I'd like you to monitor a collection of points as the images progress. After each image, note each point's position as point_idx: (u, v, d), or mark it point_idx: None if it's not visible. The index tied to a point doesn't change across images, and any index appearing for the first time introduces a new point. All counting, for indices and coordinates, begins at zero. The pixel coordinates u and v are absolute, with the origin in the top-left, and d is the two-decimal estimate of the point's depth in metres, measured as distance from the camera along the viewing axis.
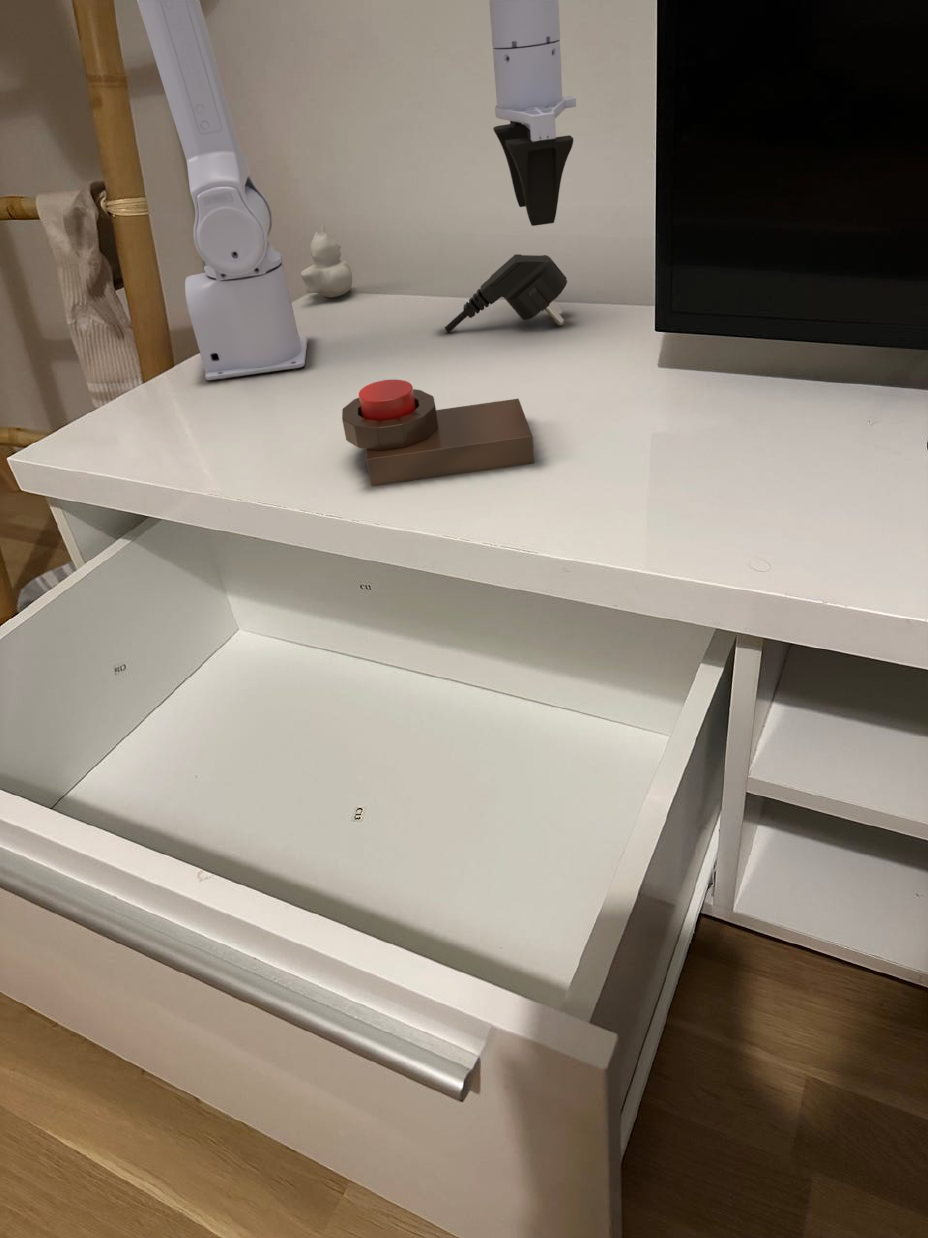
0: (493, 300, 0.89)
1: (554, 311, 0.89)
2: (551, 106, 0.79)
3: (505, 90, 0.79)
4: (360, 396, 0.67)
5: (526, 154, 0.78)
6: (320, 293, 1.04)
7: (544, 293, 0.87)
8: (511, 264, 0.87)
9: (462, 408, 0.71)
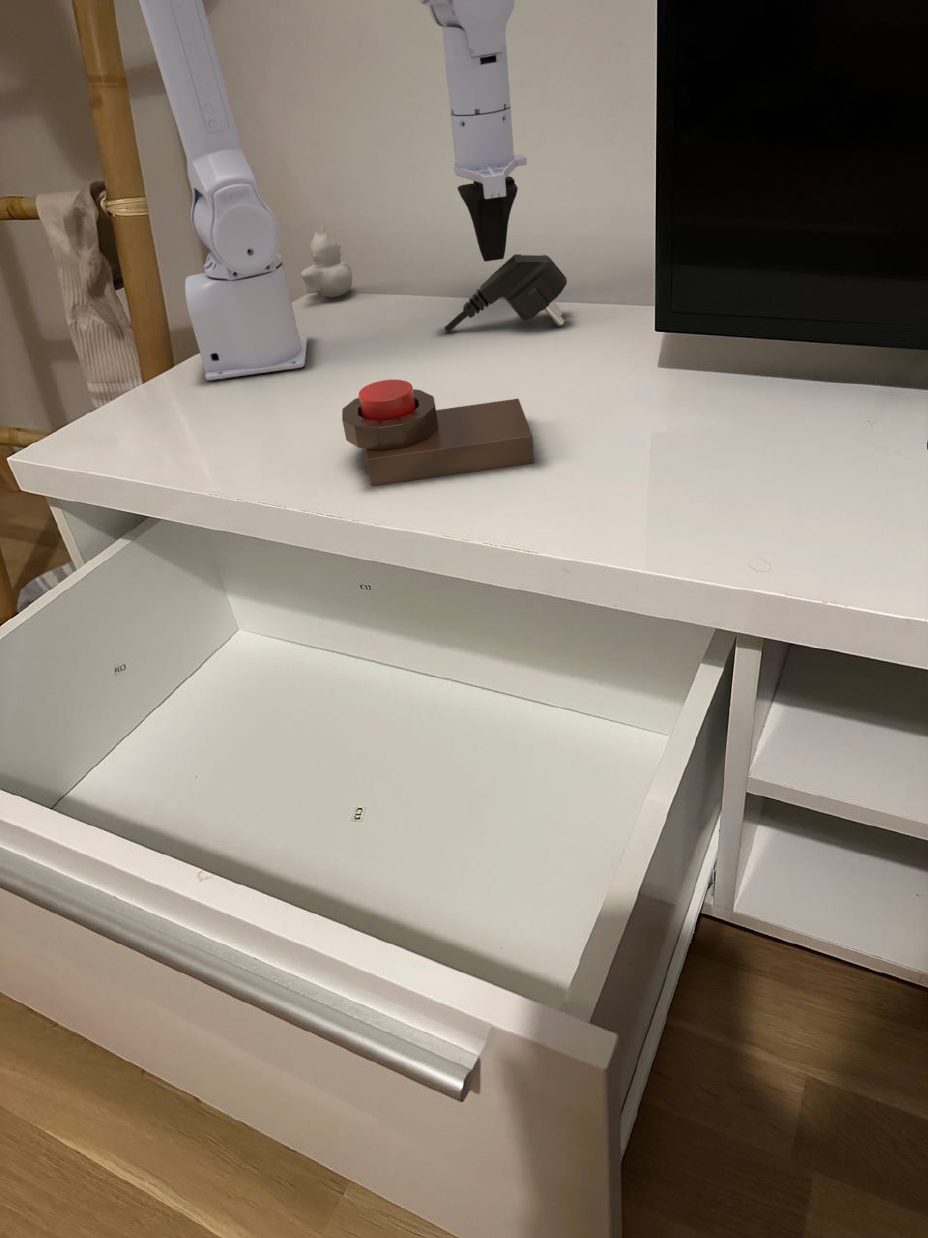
0: (493, 300, 0.89)
1: (554, 311, 0.89)
2: (503, 165, 0.88)
3: (461, 151, 0.87)
4: (360, 396, 0.67)
5: (476, 201, 0.90)
6: (320, 293, 1.04)
7: (544, 293, 0.87)
8: (511, 264, 0.87)
9: (462, 408, 0.71)
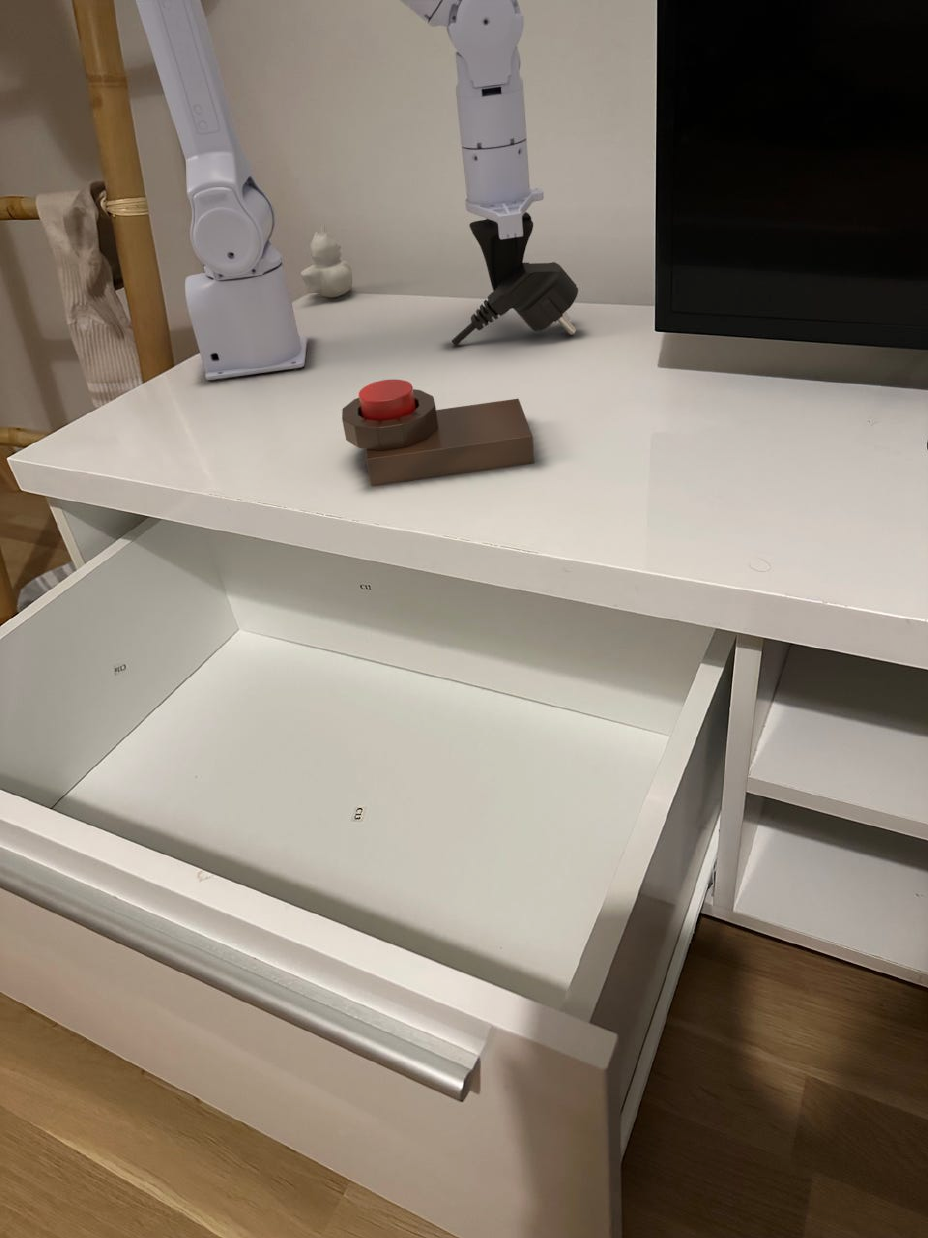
0: (503, 312, 0.86)
1: (566, 320, 0.86)
2: (519, 202, 0.81)
3: (474, 187, 0.81)
4: (360, 396, 0.67)
5: (489, 238, 0.83)
6: (320, 293, 1.04)
7: (557, 303, 0.84)
8: (521, 275, 0.84)
9: (462, 408, 0.71)
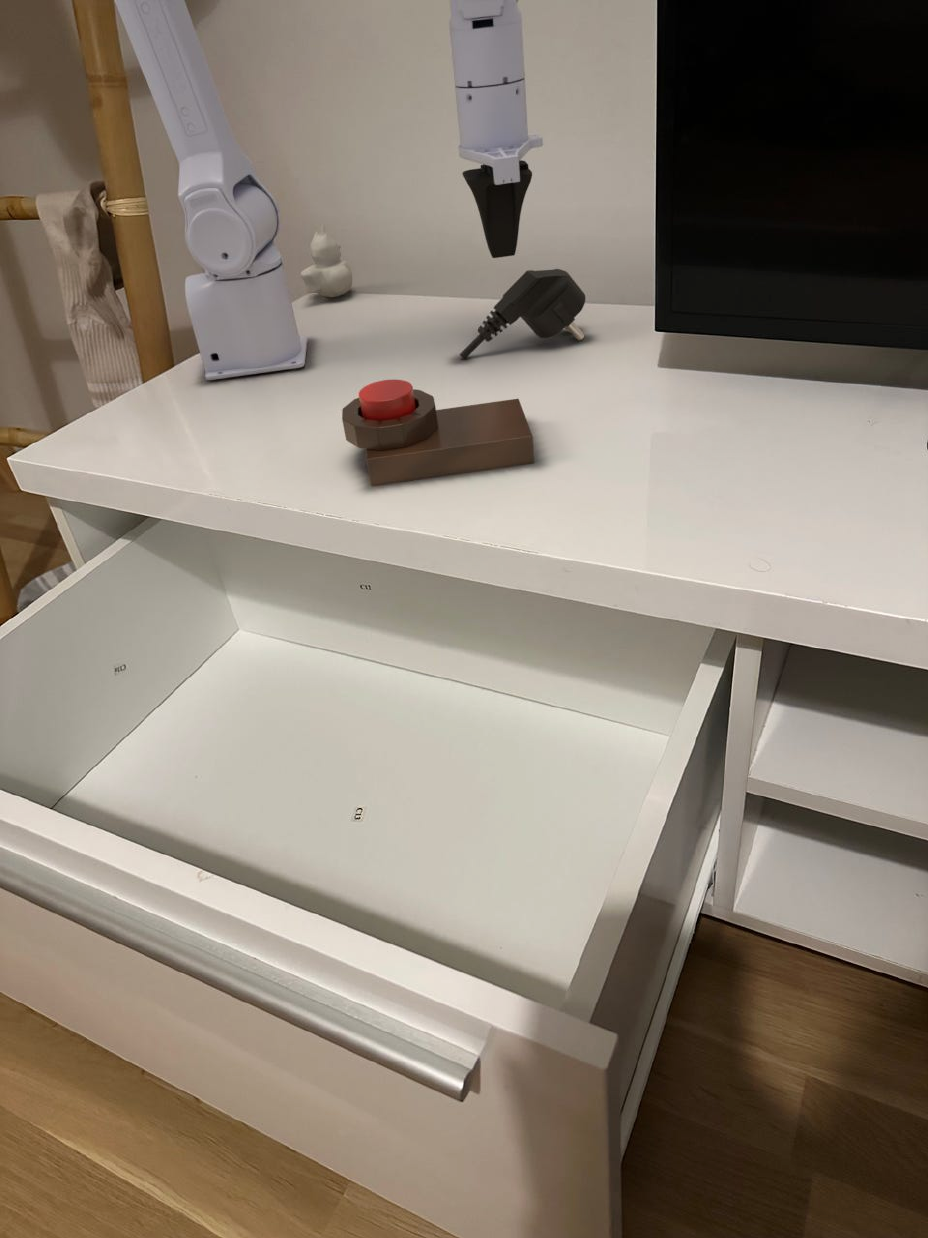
0: (513, 320, 0.84)
1: (575, 325, 0.85)
2: (516, 146, 0.76)
3: (468, 130, 0.75)
4: (360, 396, 0.67)
5: (485, 188, 0.77)
6: (320, 293, 1.04)
7: (569, 307, 0.83)
8: (531, 280, 0.82)
9: (462, 408, 0.71)
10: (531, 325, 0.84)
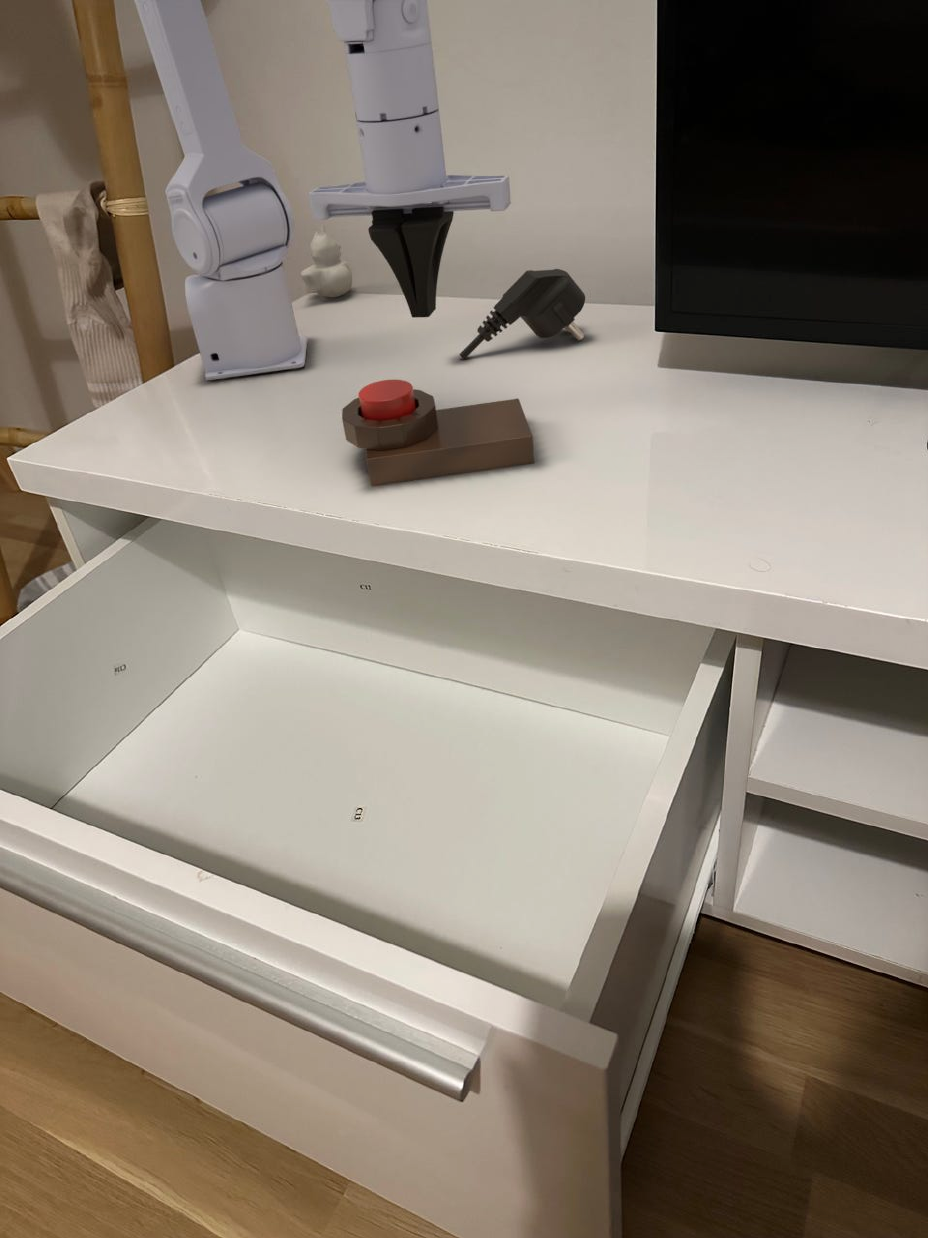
0: (513, 320, 0.84)
1: (575, 325, 0.85)
2: (448, 179, 0.66)
3: (417, 168, 0.62)
4: (360, 396, 0.67)
5: (438, 232, 0.66)
6: (320, 293, 1.04)
7: (569, 307, 0.83)
8: (531, 280, 0.82)
9: (462, 408, 0.71)
10: (531, 325, 0.84)
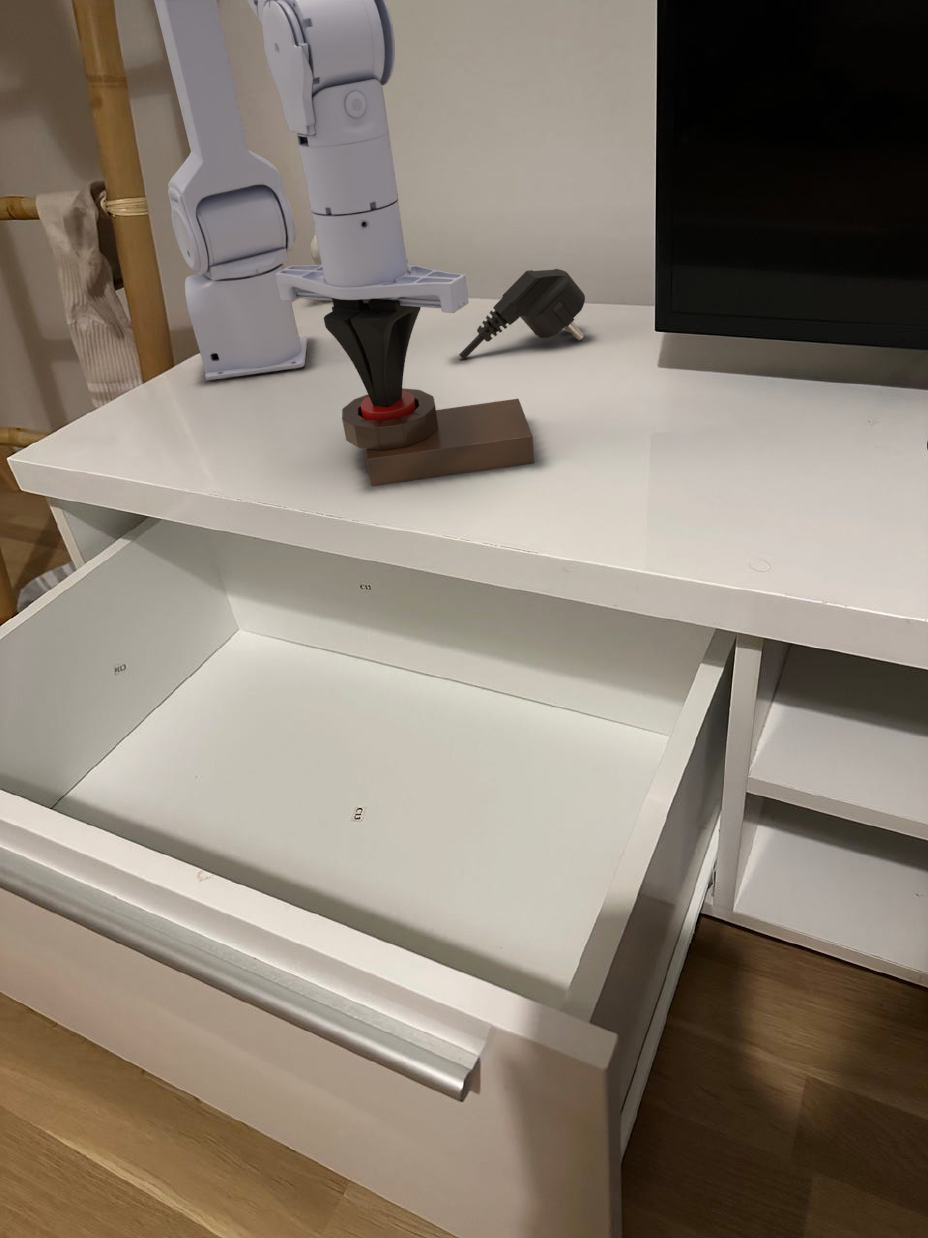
0: (512, 320, 0.84)
1: (574, 325, 0.85)
2: (411, 271, 0.62)
3: (364, 263, 0.59)
4: (362, 407, 0.68)
5: (391, 327, 0.62)
6: None
7: (568, 307, 0.83)
8: (530, 281, 0.82)
9: (462, 408, 0.71)
10: (531, 325, 0.84)
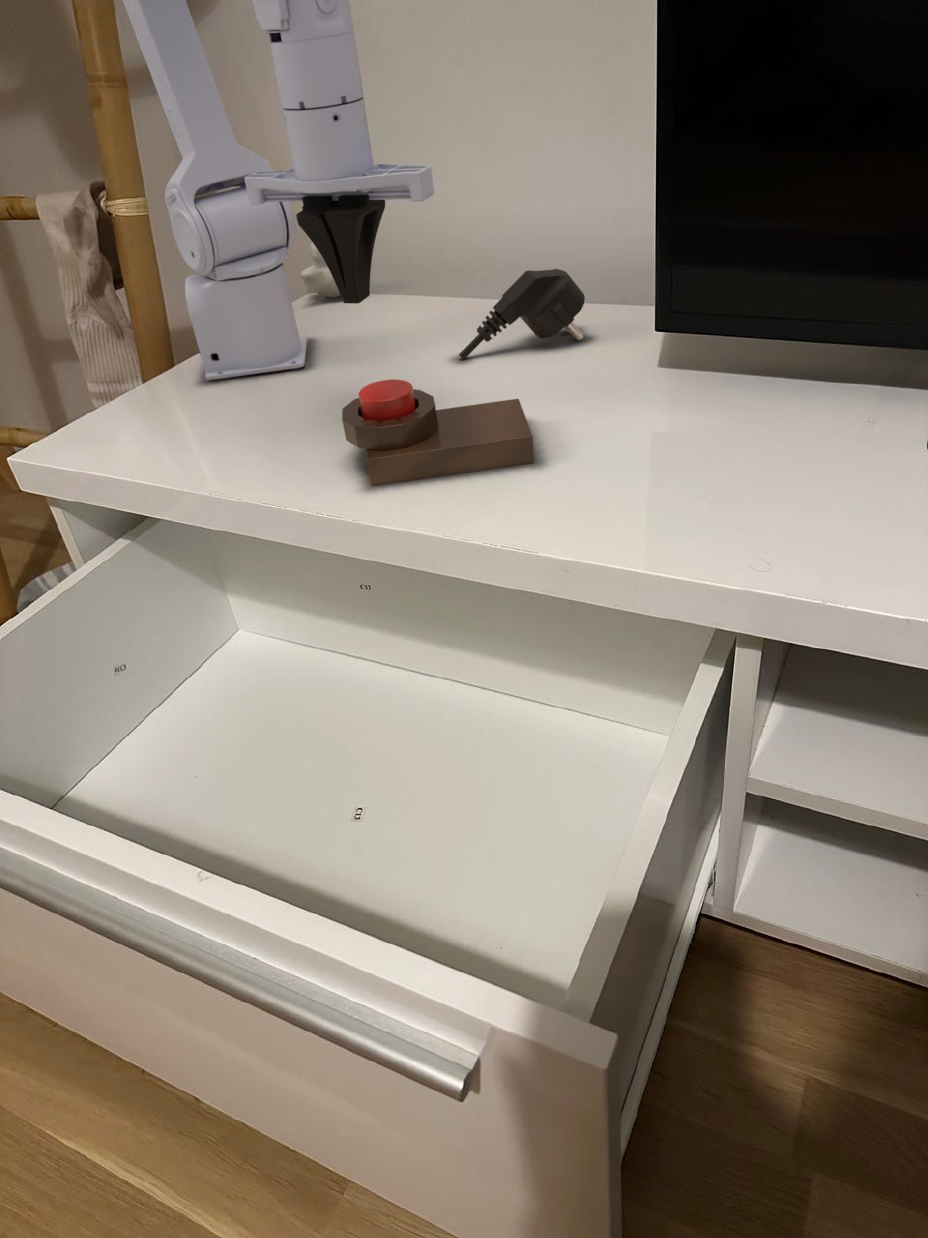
0: (512, 320, 0.84)
1: (574, 325, 0.85)
2: (377, 168, 0.67)
3: (337, 156, 0.64)
4: (360, 396, 0.67)
5: (362, 220, 0.67)
6: (320, 293, 1.04)
7: (568, 307, 0.83)
8: (530, 281, 0.82)
9: (462, 408, 0.71)
10: (530, 325, 0.84)
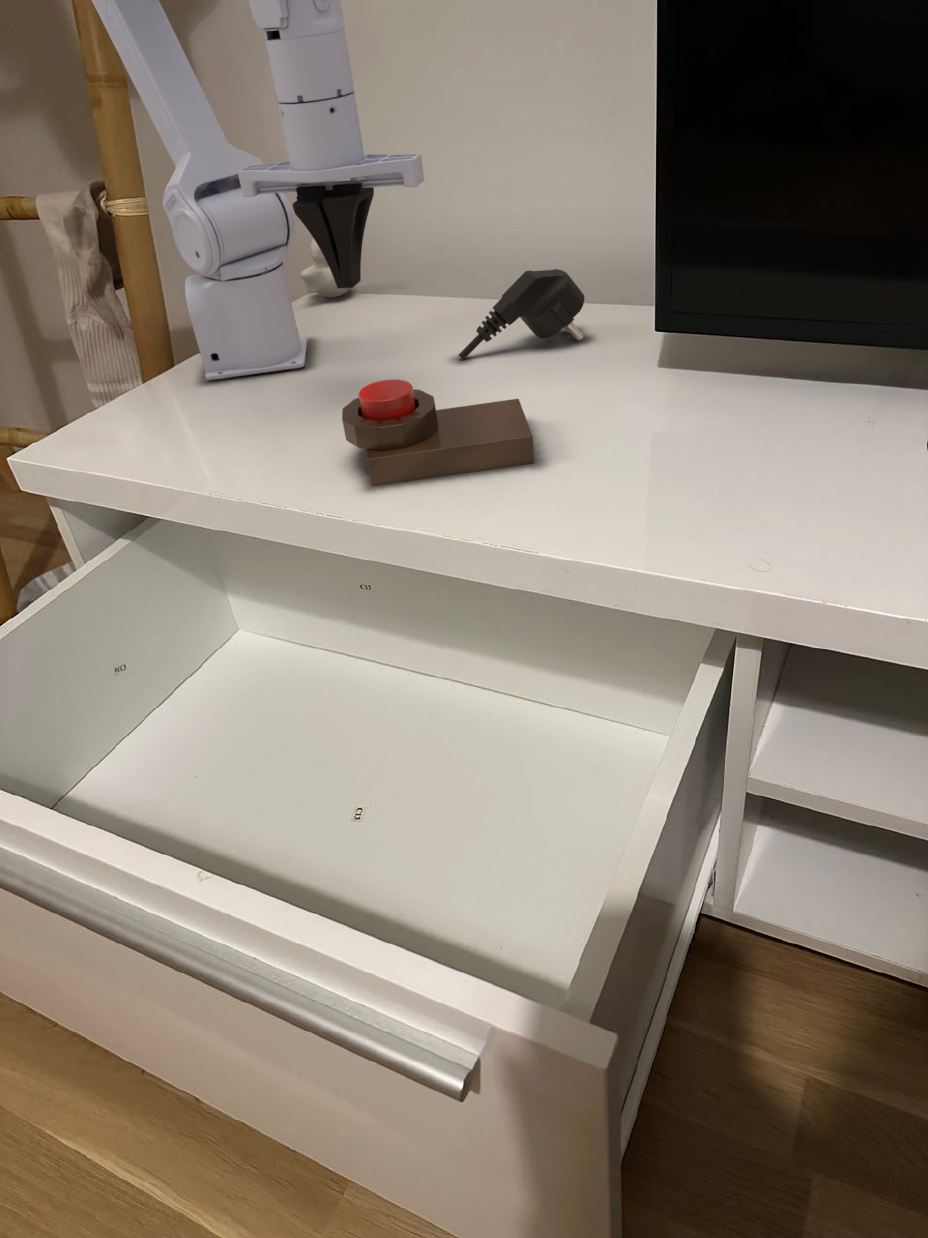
0: (512, 320, 0.84)
1: (574, 326, 0.85)
2: (367, 158, 0.71)
3: (334, 146, 0.68)
4: (360, 396, 0.67)
5: (357, 207, 0.71)
6: (320, 293, 1.04)
7: (568, 307, 0.83)
8: (530, 281, 0.82)
9: (462, 408, 0.71)
10: (530, 325, 0.84)
